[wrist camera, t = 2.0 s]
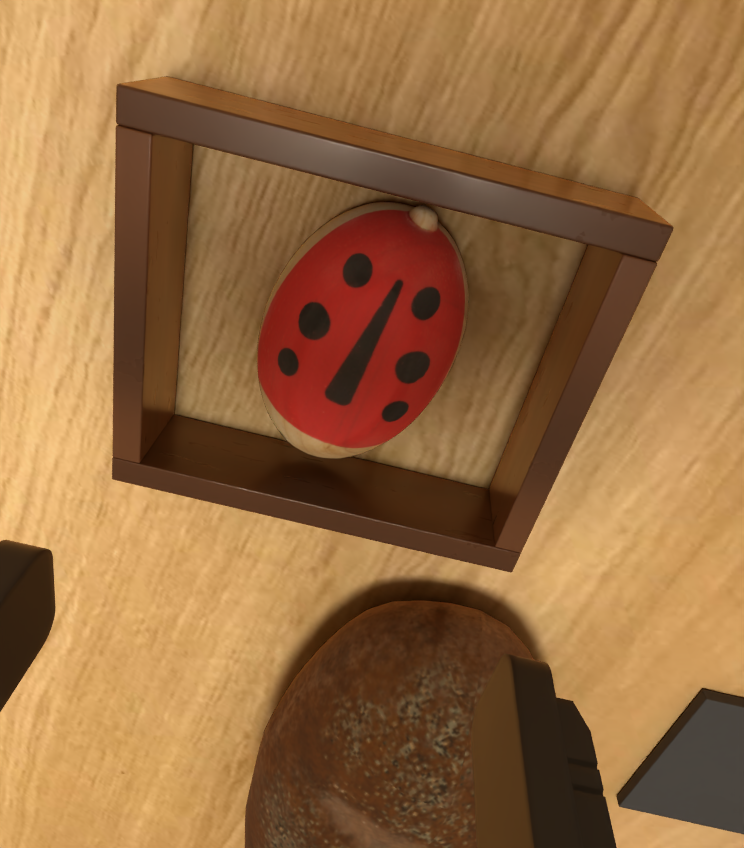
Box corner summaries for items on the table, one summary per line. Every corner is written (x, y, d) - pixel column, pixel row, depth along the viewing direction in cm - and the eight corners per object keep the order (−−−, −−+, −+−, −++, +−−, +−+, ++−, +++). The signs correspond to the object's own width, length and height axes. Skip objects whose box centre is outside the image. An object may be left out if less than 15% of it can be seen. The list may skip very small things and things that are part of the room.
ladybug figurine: (236, 400, 25) (208, 450, 22) (322, 149, 20) (301, 170, 17) (394, 462, 26) (387, 519, 23) (514, 236, 21) (526, 271, 18)
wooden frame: (165, 75, 19) (114, 83, 16) (640, 198, 20) (675, 227, 17) (148, 428, 26) (111, 479, 23) (504, 513, 27) (512, 573, 24)
